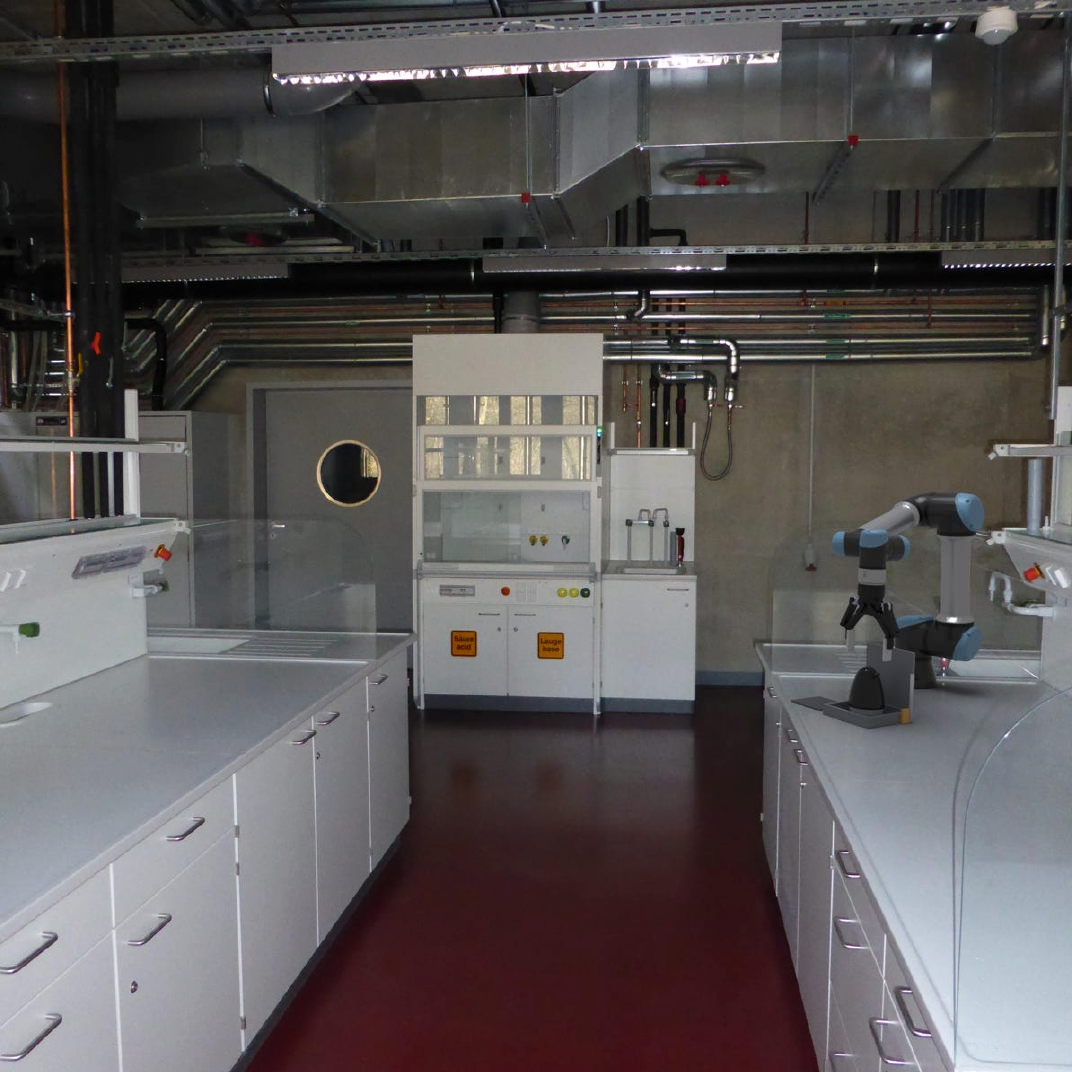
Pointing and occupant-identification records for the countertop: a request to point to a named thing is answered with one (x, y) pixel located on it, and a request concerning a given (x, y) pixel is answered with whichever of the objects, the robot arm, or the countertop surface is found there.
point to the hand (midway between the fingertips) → (868, 656)
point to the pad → (813, 702)
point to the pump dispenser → (866, 693)
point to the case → (895, 686)
